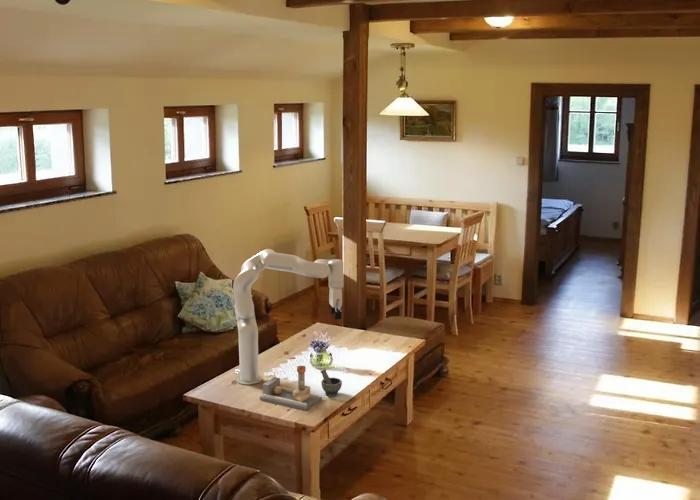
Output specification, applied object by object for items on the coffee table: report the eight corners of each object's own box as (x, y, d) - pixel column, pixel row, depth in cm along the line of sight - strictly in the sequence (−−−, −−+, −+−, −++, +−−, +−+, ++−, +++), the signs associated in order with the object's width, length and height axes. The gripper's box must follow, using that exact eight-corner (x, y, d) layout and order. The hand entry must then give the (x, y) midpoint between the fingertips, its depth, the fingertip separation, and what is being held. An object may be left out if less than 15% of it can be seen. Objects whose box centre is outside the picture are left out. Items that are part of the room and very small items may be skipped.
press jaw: (292, 401, 368) (292, 369, 365) (303, 395, 376) (302, 363, 373) (300, 403, 367) (299, 370, 363) (310, 396, 374) (309, 364, 371)
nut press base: (260, 400, 375) (259, 385, 373) (276, 389, 387) (276, 375, 385) (306, 410, 362) (306, 395, 361) (322, 400, 374) (321, 385, 373)
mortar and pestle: (345, 393, 382) (345, 370, 379) (333, 400, 374) (333, 376, 372) (327, 388, 388) (326, 365, 386) (315, 394, 381) (315, 371, 378)
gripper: (325, 280, 404) (325, 312, 408) (332, 288, 388) (332, 322, 391) (339, 279, 406) (339, 311, 410) (347, 287, 389) (347, 321, 393)
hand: (336, 316), depth 400 cm, fingers open, 9 cm apart
